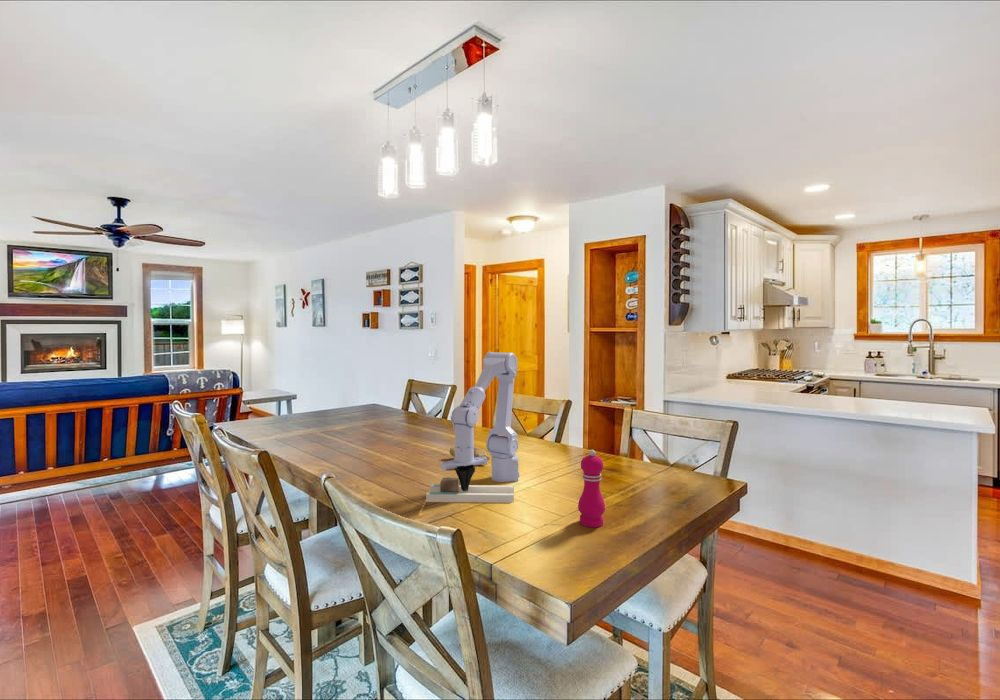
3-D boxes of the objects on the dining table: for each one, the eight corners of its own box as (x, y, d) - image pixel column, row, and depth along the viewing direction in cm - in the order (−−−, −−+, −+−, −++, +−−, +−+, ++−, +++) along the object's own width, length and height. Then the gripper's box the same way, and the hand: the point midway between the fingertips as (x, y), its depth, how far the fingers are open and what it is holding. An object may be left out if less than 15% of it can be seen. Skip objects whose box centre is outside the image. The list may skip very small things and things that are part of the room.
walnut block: (458, 493, 157) (458, 477, 156) (456, 498, 152) (456, 482, 151) (442, 493, 157) (442, 477, 156) (440, 498, 152) (440, 482, 151)
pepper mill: (586, 515, 141) (587, 445, 140) (609, 522, 137) (610, 449, 135) (572, 523, 136) (573, 450, 134) (596, 530, 131) (597, 454, 130)
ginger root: (490, 465, 186) (485, 444, 186) (448, 475, 187) (443, 454, 186) (492, 455, 202) (487, 436, 202) (453, 465, 202) (448, 445, 202)
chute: (513, 494, 159) (513, 484, 158) (513, 505, 149) (513, 495, 148) (431, 493, 159) (431, 483, 159) (425, 504, 149) (425, 494, 149)
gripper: (480, 440, 160) (480, 482, 161) (437, 445, 153) (437, 489, 154) (490, 445, 154) (490, 489, 154) (445, 451, 147) (445, 496, 148)
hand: (464, 490), depth 154 cm, fingers closed
